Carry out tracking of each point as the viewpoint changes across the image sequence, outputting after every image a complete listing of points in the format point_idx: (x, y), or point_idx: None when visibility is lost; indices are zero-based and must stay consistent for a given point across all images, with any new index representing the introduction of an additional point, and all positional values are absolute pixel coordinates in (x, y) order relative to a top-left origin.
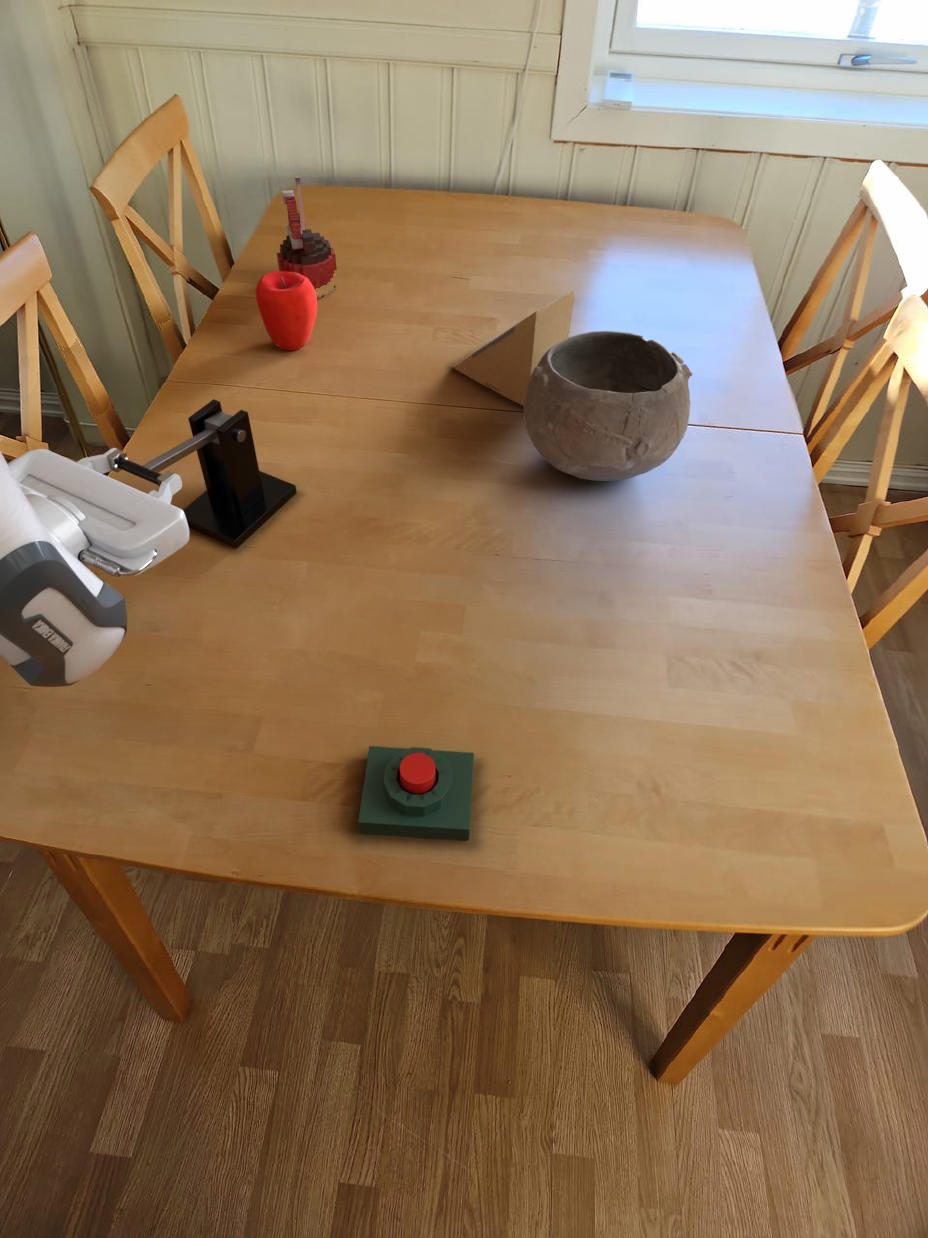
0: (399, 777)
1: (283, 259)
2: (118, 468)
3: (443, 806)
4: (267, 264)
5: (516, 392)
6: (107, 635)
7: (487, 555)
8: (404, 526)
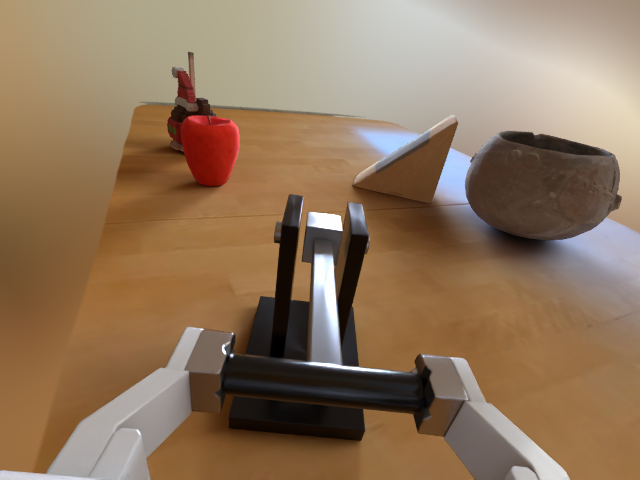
0: None
1: (177, 122)
2: (222, 397)
3: None
4: (147, 138)
5: (421, 193)
6: None
7: (586, 329)
8: (490, 322)
